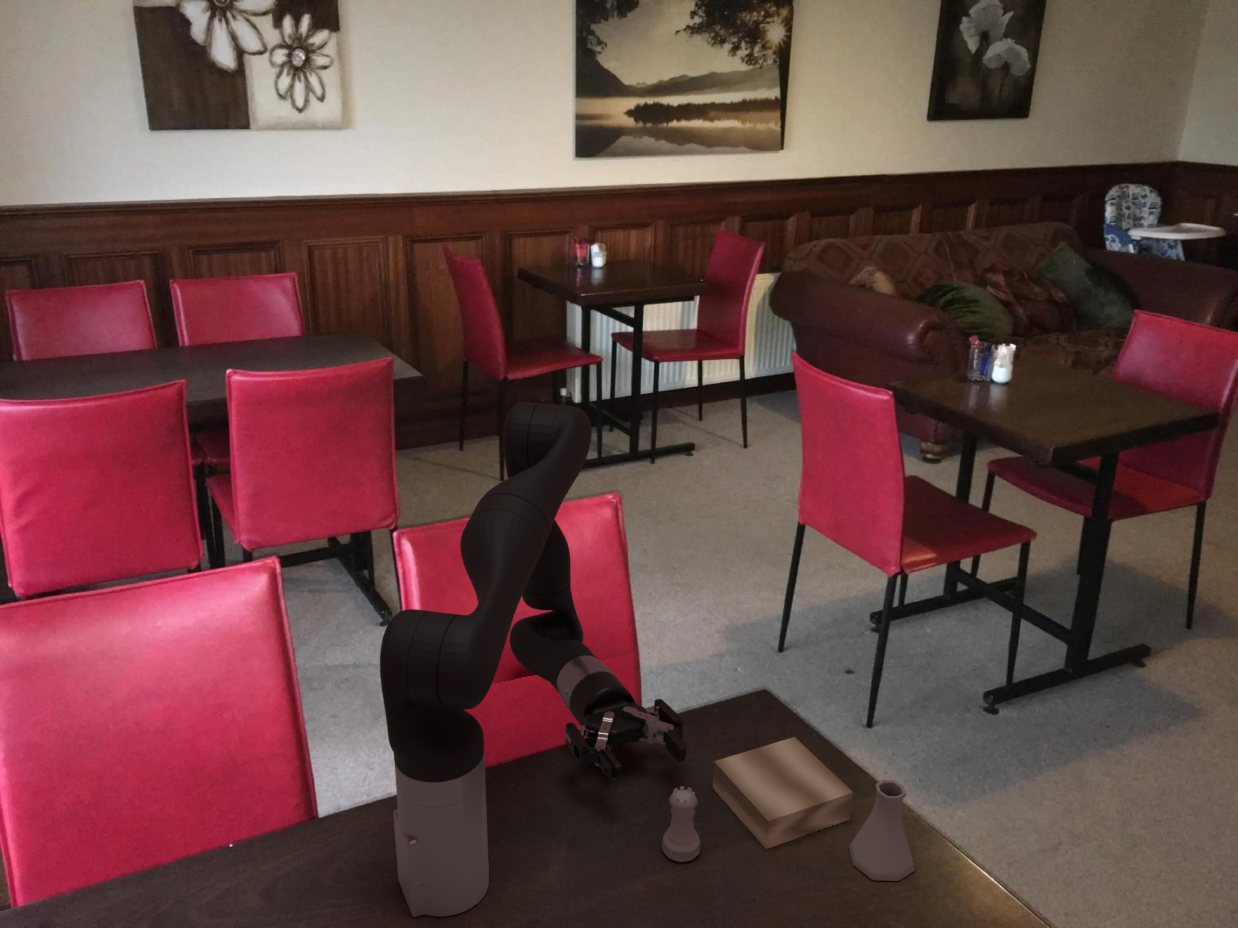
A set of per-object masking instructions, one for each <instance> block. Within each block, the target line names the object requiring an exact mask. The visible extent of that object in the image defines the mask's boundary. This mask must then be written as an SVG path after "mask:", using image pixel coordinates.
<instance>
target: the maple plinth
mask: <svg viewBox="0 0 1238 928" xmlns="http://www.w3.org/2000/svg"><path fill="white" fill-rule="evenodd" d="M712 777H713V778H712V789H713V790H714V791H715V792H716V794H717V795H719V798H721V800H722V801H723V802H724V803H725V805H727V806H728V807H729V808H730V810H731V811H732V812H733V813H734V815H736V817H737V818H738V819H739V820H740V821H741V822H742V824H744V826H745V827H746V828H747V829H748V830H749V831H750V833H751V834H752V835H753V836H754V837H755V838H756V839H757V841H758V842H759V843H760V844H761V845H762V847H764V849H765V850H768V849H771V848H773V847H777V846H780V845H782V844H785V843H788V842H790V841H794V840H796V839H799V838H802V837H806V836H807V834H808V835H810V833H811V834H814V833H815V832H818V830H819V831H822V830H824V828H825V829H827V827H828V828H830V827H832V825H833V826H836V825H838V824H842V823H844V822H845V823H846V822H848V821H849V820H850V819H851V813H852V812H851V811H852V806H853V796H854V792H853V790H851V789H850V788H849V787H848V786H847V785H846V784H845V783H844V782H843V781H842V780H841V779H840V778H838V777H837V775H835V773H834V772H832V771H831V770H830V769H829V767H827V766H826V765H825V764H824V763H823V762H821V760H819V758H818V757H816V756H815V754H813V753H812V752H811V751H810V750H809V749H808V748H807V747H806V746H805V745H803V743H802V742H800V740H798V738H797V737H795V736H793V737H790V738H786V739H783V740H780V741H776V742H774V743H770V744H767V745H763V746H760V747H756V748H753V749H750V750H747V751H743V752H740V753H737V754H734V755H730V756H727V757H724V758H721V759H717V760H714V761H713V776H712Z"/></svg>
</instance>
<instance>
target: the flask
mask: <svg viewBox="0 0 1238 928" xmlns="http://www.w3.org/2000/svg"><path fill="white" fill-rule="evenodd" d="M875 790H876V799H875V802H874V805H873V807H872V810H871V812H870V813H869V815H868V817H867V819H866V820H865V822H864V823H863V825H862V826H861V828H860V829H859V831H858V833H857V834H856V835H855V836H854V838H853V839H852V841H851V842H850V844H849V845H848V851H849V854H850V855H849V856H850V858H851V863H852V865H853V866H854V867H855V868H856V869H858V870H859V871H860V872H862V873H863V874H864V875H866V876H867V877H868V878H869V879H871V880H872V881H888V882H889V881H890V882H891V881H892V882H893V881H894V882H896V881H897V882H898V881H901V880H902V879H904V878H906V877H907V876H908V875H910V874H911V873H913V872H915V871H916V868H915V864H914V859H913V856H912V854H911V850H910V846H909V842H908V839H907V835H906V830H905V827H904V822H903V812H902V811H903V809H902V806H903V799H904V798H906V796H907V792H906V790H905V787H904V785H902V784H901V783H900V782H898V781H896V780H895V779H883V780H881V781H878V782H877V783H875Z"/></svg>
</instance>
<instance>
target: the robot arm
mask: <svg viewBox="0 0 1238 928" xmlns="http://www.w3.org/2000/svg"><path fill="white" fill-rule="evenodd" d="M592 430H593V429H592V423H591V420H590V417H589V416H588V415H587V412H585V411H584V410H582V409H580V408H577V407H574V406H571V405H564V404H563V405H562V404H553V403H552V404H551V403H540V402H529V401H526V402H525V401H523V402H517V403H515V404H513V405H512V407H511V408H510V409H509V411H508V413H507V415H506V418H505V421H504V427H503V434H502V447H503V458H504V464H505V471H506V477H507V479H504V480H502V481H500V482H499V483H497V485H494V486H493V487H492V488H490V489H489V490H488V491H487V492H485V494H484V495H483V496H482V497H481V498H480V499H479V500H478V503H477V504H476V506H475V508H474V510H473V511H472V514H471V515H470V517H469V518H468V521H467V522H466V523H465V525H464V526H465V527H464V529H463V530H462V533H461V536H460V548H459V549H460V556H461V560H462V563H463V566H464V568H465V572H466V573H467V574H466V575H467V576H468V579H469V580H470V583H471V585H472V587H473V590H474V592H475V595H476V599H477V605H476V608H475V609H473V611H472V612H471V613H469V614H458V613H449V612H442V611H441V612H440V611H434V610H433V611H432V610H424V609H412V608H411V609H403V610H400V611H399V612H397V613H396V614H395V615H394V616H393V617H392V618H390V620H389V622H388V623H387V625H386V627H385V631H384V633H383V636H382V640H381V646H380V652H379V676H380V684H381V685H380V687H381V694H382V699H383V707H384V713H385V720H386V729H387V738H388V743H389V746H390V749H391V751H392V752H393V760H394V771H395V772H394V773H395V774H394V775H395V789H396V802H397V803H396V804H397V809H394V810H393V813H392V815H393V826H394V827H393V828H394V838H395V839H394V840H395V842H394V843H395V853H396V867H397V869H396V870H397V877H398V878H397V879H398V883H399V886H400V889H401V891H402V893H403V896H404V899H405V901H406V904H407V906H408V909H409V911H410V914H411V917H414V918H417V917H419V916H423V915H424V916H431V917H432V916H433V917H450V916H455V915H458V914H462V913H464V912H466V911H468V910H470V909H472V908H473V907H474V906H475V905H478V904H479V903H480V902H481V900H482V899H483V898H484V897H485V895H486V894H487V892H488V889H489V884H490V882H489V881H490V879H489V874H490V873H489V872H490V865H489V850H488V849H489V848H488V847H489V845H488V822H487V821H488V819H487V818H488V817H487V813H488V812H487V786H486V759H485V758H486V757H485V755H486V754H485V738H484V731H483V727H482V725H481V724H480V722H479V721H478V719H477V718H476V717H475V716H473V714H472V713H470V712H468V711H467V710H472V709H475V708H477V707H478V706H479V705H480V704H481V703H482V702H483V701H484V699H485V697H486V696H487V695H488V693H489V691H490V688H491V686H492V684H493V682H494V679H495V677H496V676H495V675H496V674H497V670H498V668H499V664H500V662H501V659H502V656H503V653H504V652H503V651H504V649H505V645H506V642H507V640H508V636H509V646H510V649H511V651H512V654H513V655H514V657H515V659H516V660H517V661H518V663H520V665H521V666H522V667H523V668H525V669H526V670H528V672H531V673H533V674H535V675H537V676H538V677H540V678H542V679H543V680H545V681H547V682H549V683H550V684H551V686H553V688H554V689H555V690H556V692H557V693H558V694H559V696H560V698H561V700H562V702H563V703H564V705H565V707H566V708H567V710H569V712H570V713H571V715H572V716H573V717H574V718H575V720H576V721H577V722H578V724H579V726H577V725H576V724H575V723H574V722H567V723H566V724H565V743H566V746H567V747H568V749H569V751H570V752H571V754H572V755H573V757H574V759H575V760H576V762H577V764H578V766H580V767H582V768H587V767H588V766H589V764H595V766H597V767H599V768H600V770H601V771H602V772H603V774H605V776H606V777H607V778H608V779H611V780H612V779H613V781H614V783H615V782H619V781H622V779H623V778H622V777H623V770H622V769H623V768H622V765H621V763H620V762H619V761H618V759H617V757H616V756H615V755H614V754H613V753H612V751H611V749H612V746H613V747H615V746H616V748H619V747H622V746H625V745H626V744H630V743H636V742H642V743H647V744H649V745H653V744H654V743H657V744H660V745H663V746H664V748H665V749H666V750H667V751H668V752H669V754H671V756H672V757H673V758H674V759H675V761H676V762H677V763H679V764H680V763H682V762H685V761H686V757H687V744H686V743H685V741H684V740H683V738H684V725H685V723H684V722H685V721H684V718H682V716H680V715H679V714H678V713H677V712H676V711H675V710H674V709H673V708H672V707H671V706H670V705H669V704H667V703H666V701H665V700H663V699H662V698H656V699H654V701H653V702H654V703H653V704H654V705H651V706H648V707H645V706H642V705H640V704H638V703H637V702H636V700H635V699H634V697H633V695H632V693H631V692H630V691H629V690H628V688H627V687H626V686H625V685H624V684H623V683H622V682H621V681H620V679H619V678H618V677H617V676H616V674H614V673H613V672H612V671H611V669H610V668H609V667H608V666H607V665H606V664H605V663H603V662H602V661H601V660H600V659H598V657H597V656H596V655H595V654H594V653H593V652H592V650H590V648H589V647H588V646H587V645H585V644H584V643H583V642H584V631H583V627H582V625H581V621H580V619H579V616H578V614H577V611H576V607H575V606H576V605H575V604H574V603H575V602H574V599H573V595H572V594H573V593H572V588H571V587H572V586H571V585H572V584H571V583H572V582H571V581H572V580H571V579H572V578H571V574H572V573H571V552H570V548H569V544H568V543H569V542H568V540H567V539H566V536H565V534H564V533H563V530H562V529H561V527H560V526H559V524H558V522H557V521H556V517H557V515H558V512H559V509H560V508H561V505H562V503H563V502H564V499H565V498H566V496H567V495H568V492H570V489H571V487H572V486H573V484H574V482H575V481H576V480H577V478H578V476H579V474H580V473H581V470H582V469H583V467H584V465H585V463H586V460H587V457H588V454H589V451H590V446H591V443H592V433H593V432H592ZM521 599H522V600H523V602H524V603H525V605H526V606H527V607H529V608H530V609H534V610H538V611H548V612H542V613H539V614H535V615H532V616H531V615H530V616H527V617H523V618H521V619H519V620H517V621H516V622H515V623H514V624H513V626H512V623H513V620H514V617H515V614H516V611H517V608H518V606H519V603H520V601H521ZM511 626H512V627H511ZM646 726H647V727H648V730H647V732H648V733H647V732H645V729H646ZM658 731H661V732H663V734H660V733H659V732H658ZM585 737H587V738H589V739H591V740H594V741H596V742H595V744H594V747H593V746H591V747H590V746H589V744H588V742H586V739H585Z"/></svg>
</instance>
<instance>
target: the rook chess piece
mask: <svg viewBox="0 0 1238 928" xmlns="http://www.w3.org/2000/svg"><path fill="white" fill-rule="evenodd" d="M692 789H693V788H691V787H687V789H685V786H684V785H682V786H679V788H677V787H675V788H674V789H673V790H672V791H673V792H671V794H670V795H669V797H668V802H669V804H670V805H671V807H670V810H669V811H670V814H671V820H670V824H669V825H670V826H669V827H668V828H667V830H666V831H665V832H664V834H663V838H662V844H661V848H662V852H663V853H664V854H665V856H666V857H668V859H669V860H672V861H674V862H678V863H687V862H690V861H693V860H694V859H695V858H696V857H697V856H698V855H699V854H700V851H701V845H700V844H701V840H700V836H699V834H698V833H697V830H696V828H695V822H694V816H695V815H696V810H695V807H697V806H698V803H699V801H698V797H697V796H696V793H695V791H693V790H692Z"/></svg>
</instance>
